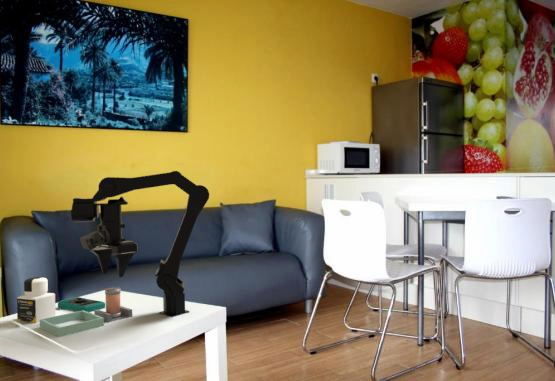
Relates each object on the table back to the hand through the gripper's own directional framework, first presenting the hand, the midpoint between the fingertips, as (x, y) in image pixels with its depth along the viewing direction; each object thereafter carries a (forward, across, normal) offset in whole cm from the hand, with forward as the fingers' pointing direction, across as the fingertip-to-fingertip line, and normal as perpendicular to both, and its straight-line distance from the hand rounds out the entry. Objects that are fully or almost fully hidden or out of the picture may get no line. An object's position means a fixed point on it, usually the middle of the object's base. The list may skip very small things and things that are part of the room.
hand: (112, 275), depth 137 cm
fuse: (+12, 0, 0) cm, 12 cm away
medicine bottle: (+13, -16, -15) cm, 25 cm away
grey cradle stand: (+12, 0, 0) cm, 12 cm away
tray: (+12, 0, -12) cm, 17 cm away
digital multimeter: (+13, -18, -1) cm, 22 cm away
